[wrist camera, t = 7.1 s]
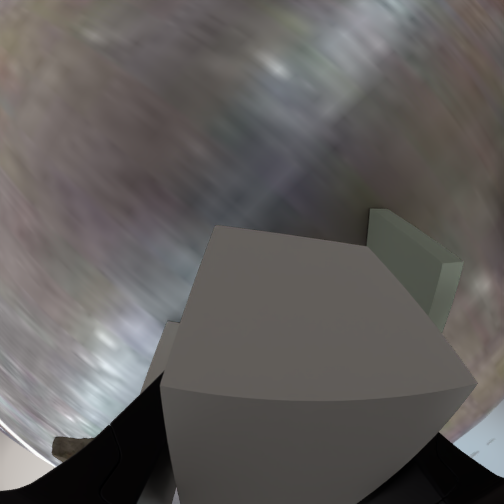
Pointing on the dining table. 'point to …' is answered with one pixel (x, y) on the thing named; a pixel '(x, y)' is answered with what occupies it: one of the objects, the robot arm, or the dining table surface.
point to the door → (416, 262)
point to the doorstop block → (301, 374)
